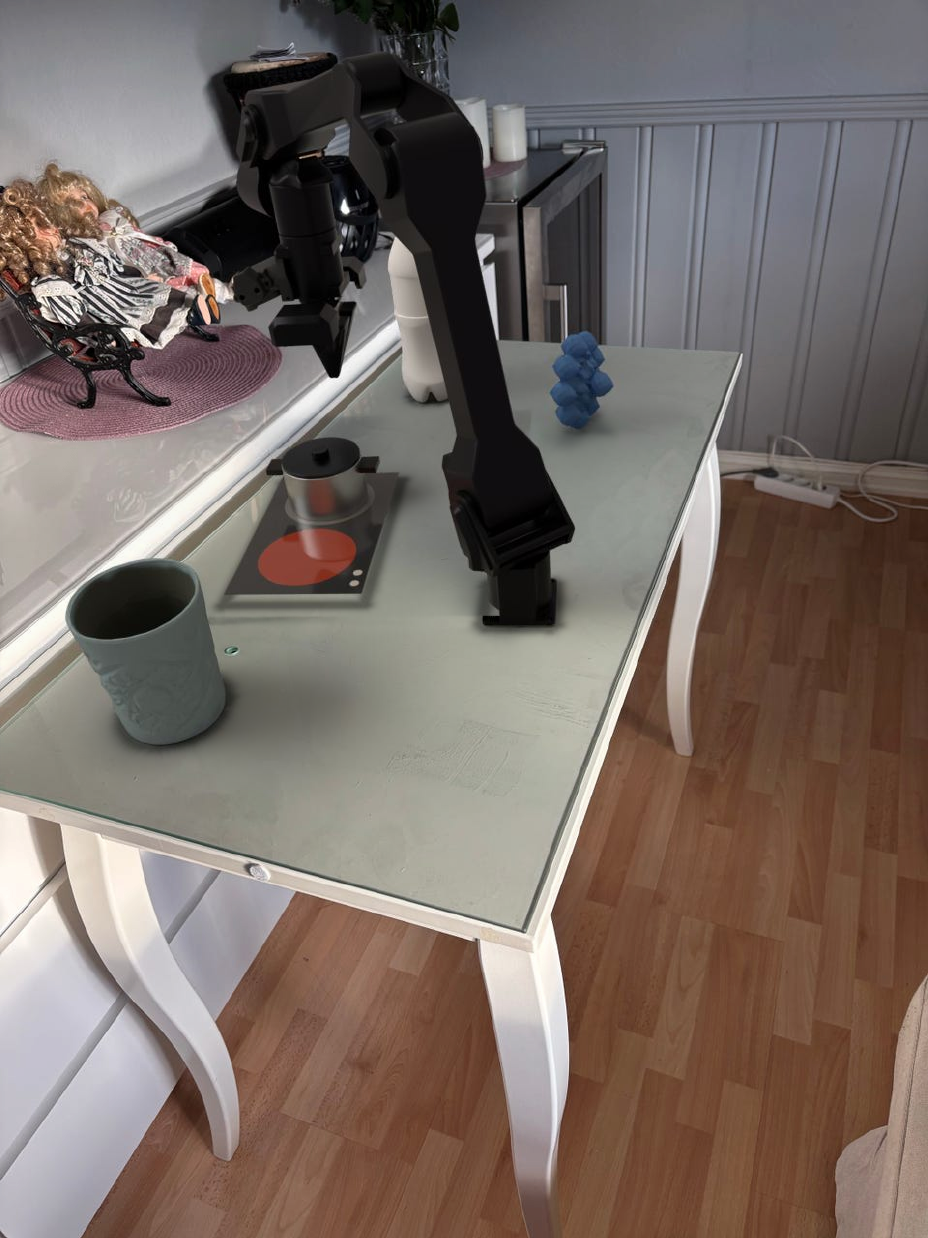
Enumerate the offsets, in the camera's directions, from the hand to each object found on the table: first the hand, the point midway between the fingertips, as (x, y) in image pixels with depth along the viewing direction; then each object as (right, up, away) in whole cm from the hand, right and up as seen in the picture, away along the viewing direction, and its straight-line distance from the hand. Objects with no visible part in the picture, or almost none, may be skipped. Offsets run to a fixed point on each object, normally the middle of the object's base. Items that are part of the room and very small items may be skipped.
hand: (334, 376), depth 100 cm
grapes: (+29, -4, +8) cm, 30 cm away
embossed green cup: (-10, -34, -24) cm, 43 cm away
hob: (-1, -18, -5) cm, 19 cm away
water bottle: (+10, +3, +20) cm, 22 cm away
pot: (0, -14, -2) cm, 14 cm away
